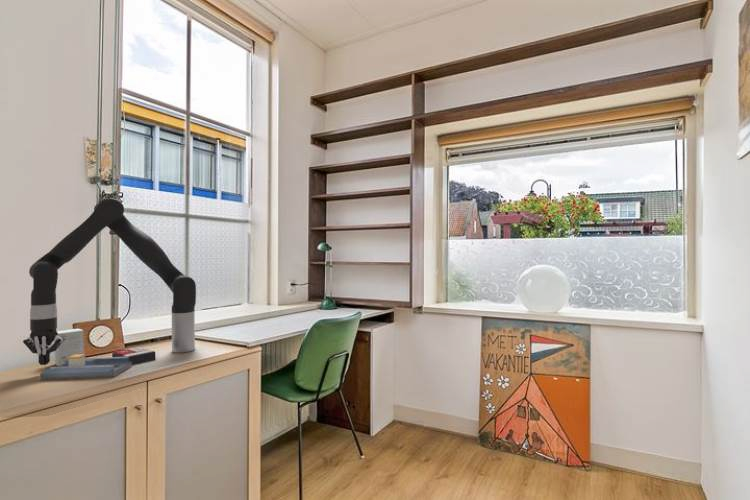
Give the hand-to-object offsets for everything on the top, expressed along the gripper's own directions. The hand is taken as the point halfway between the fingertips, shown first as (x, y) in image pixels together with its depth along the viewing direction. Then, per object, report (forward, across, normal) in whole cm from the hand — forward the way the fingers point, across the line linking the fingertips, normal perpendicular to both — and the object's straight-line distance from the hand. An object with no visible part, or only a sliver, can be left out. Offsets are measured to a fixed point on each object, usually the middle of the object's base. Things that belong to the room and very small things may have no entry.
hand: (44, 364), depth 144 cm
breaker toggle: (+1, -11, 0) cm, 11 cm away
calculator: (+4, -23, -16) cm, 29 cm away
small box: (+4, 0, -14) cm, 15 cm away
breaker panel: (+4, -15, 0) cm, 16 cm away
